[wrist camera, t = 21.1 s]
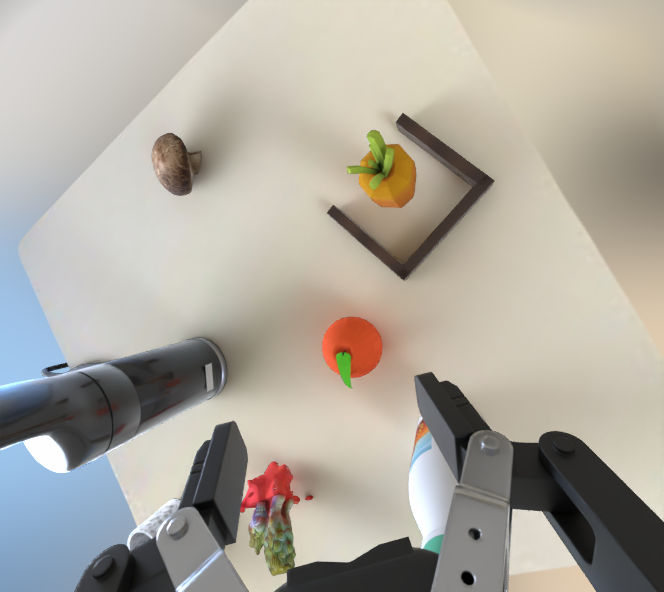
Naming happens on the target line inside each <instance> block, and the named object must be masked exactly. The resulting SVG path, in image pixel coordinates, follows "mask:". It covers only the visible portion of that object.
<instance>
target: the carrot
mask: <svg viewBox="0 0 664 592" xmlns="http://www.w3.org/2000/svg"><path fill="white" fill-rule="evenodd" d="M367 138H368V140H369V142H370V145H369V147H370V150H371V151H370V152H369V153H368V154H367V155H366V156H365V157H364V158H363V159H362V160H361V164H360V166H348V167H347V171H348V173H350V174H357V173H360V175H359V185H360V186H361V187H362V188H363V190H364V191H365V192H366V193H367V194H368V195H369V197H370V198H371V199H372V200H373V201H374V202H375V203H377V204H378V205H380V206H381V207H394V208H402V207H403V206H404V205H405V204H406V203H408V202H409V201H410V200H411V199H412V198H413V196H414V191H415V182H416V168H415V163H414V161H413V160H412V159H411V157H410V156H409V155H408V154H407V153H406V152H405V151H404V150H403V148H402V147H401V146H400V145H399V144H391V145H386V144H385V142H384V140H383V138H382V136H381V134H380V132H378V131H376V130H372V131H370V132H369V133H368V135H367Z"/></svg>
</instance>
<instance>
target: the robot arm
mask: <svg viewBox="0 0 664 592" xmlns="http://www.w3.org/2000/svg"><path fill="white" fill-rule="evenodd" d="M66 367H69V366H68V364H67V363H63V364H58V365H54V366H50V367H47V368H45V369H43V370H42V371H41V374H42V375H43V376H45V377H47V378H40V379H33V380H27V381H22V382H17V383H12V384H8V385H4V386H0V450H1V449H3V448H6V447H9V446H12V445H14V444H17V443H21V442H24V443H25V444H26V446H27V448H28V449H29V451H30V452H31V454H32V455H33V456H34V457H35V458H36V459H37V461H39V462H40V463H41V464H43V465H44V466H45V467H47V468H48V469H50V470H52V471H56V472H70V471H73V470H76V469H79V468H81V467H83V466H85V465H87V464H89V463H90V462H92V461H94V460H96V459H98V458H99V457H102V456H103V455H105V454H107V453H109V452H111V451H113V450H115V449H116V448H118V447H120V446H122V445H124V444H126V443H127V442H129V441H131V440H133V439H135V438H137V437H138V436H140V435H142V434H144V433H146V432H148V431H150V430H151V429H153V428H155V427H157V426H159V425H161V424H163V423H164V422H166V421H168V420H170V419H172V418H174V417H176V416H177V415H179V414H181V413H183V412H185V411H187V410H189V409H190V408H192V407H194V406H196V405H198V404H200V403H202V402H203V401H205V400H208V399H210V398H212V397H214V396H216V395H217V394H219V393H220V392H221V390H222V389H223V387H224V385H225V383H226V379H227V366H226V362H225V359H224V356H223V354H222V352H221V351H220V349H219V348H218V347H217V346H216V345H215V344H214V343H213V342H211V341H210V340H208V339H205V338H192V339H188V340H186V341H184V342H180V343H176V344H172V345H169V346H165V347H161V348H157V349H154V350H150V351H146V352H143V353H139V354H135V355H131V356H128V357H124V358H120V359H117V360H113V361H109V362H105V363H90V364H84V365H80V366H77V367H75V368H74V369H72V370H70V371H68V372H66V373H52V372H50V371H54V370H57V369H62V368H66ZM415 387H416V394H417V402H418V407H419V410H420V413H421V416H422V418H423V420H424V422H425V423H426V425H427V427H428V429H429V431H430V433H431V434H432V436H433V438H434V440H435V442H436V444H437V446H438V447H439V449H440V451H441V453H442V455H443V457H444V458H445V460H446V462H447V464H448V466H449V468H450V469H451V471H452V473H453V475H454V477H455V479H456V480H457V482H458V484H459V486H458V485H456V487H455V489H454V493H453V497H452V501H451V506H450V510H449V514H448V519H447V523H446V528H445V532H444V536H443V541H442V545H441V549H440V554H438V553H436V552H433V551H430V550H427V549H422V548H414V547H412V546H411V543H410V540H409V537H406V538H402V539H398V540H395V541H391V542H387V543H383V544H380V545H378V546H376V547H374V548H373V549H371V550H370V551H368V552H366V553H365V554H363V555H361V556H360V557H358V558H357V559H355V560H353V561H351V562H347V563H345V562H314V563H310V564H306V565H303V566H299V567H295V568H291V569H288V570H287V582H286V583H285V584H283V585H282V586H281V587H279V588H278V589H277V590H276V591H275V592H508V581H509V579H508V578H509V558H510V543H511V528H512V513H513V509H521V510H533V511H542V512H543V513H544V515H545V516H546V518H547V519H548V521H549V522H550V524H551V525H552V527H553V528H554V530H555V531H556V533H557V534H558V536H559V537H560V539H561V540H562V541H563V543H564V544H565V546H566V547H567V549H568V550H569V552H570V553H571V555H572V556H573V558H574V559H575V561H576V562H577V564H578V565H579V567H580V568H581V570H582V571H583V572H584V573H585V575H586V577H587V578H588V580H589V581H590V583H591V584H592V585H593V587H594V589H595V590H596V592H664V522H663V521H662V520H661V519H660V518H659V517H658V516H657V515H656V514H655V513H654V512H653V511H652V510H651V509H650V508H649V507H648V506H647V505H646V504H645V503H644V502H643V501H642V500H641V499H640V498H639V497H638V496H637V495H636V494H635V493H634V492H633V491H632V490H631V489H630V488H629V487H628V486H627V485H626V484H625V483H624V482H623V481H622V480H621V479H620V478H619V477H618V476H617V475H616V474H615V473H614V472H613V471H612V470H611V469H610V468H609V467H608V466H607V465H606V464H605V463H604V462H603V461H602V460H601V459H600V458H599V457H598V456H597V455H596V454H595V453H594V452H593V451H592V450H591V449H590V448H589V447H588V446H587V445H586V444H585V443H584V442H583V441H581V440H580V439H579V438H577V437H575V436H573V435H571V434H568V433H565V432H559V431H551V432H547V433H545V434H543V435H542V436H541V437H540V439H539V443H519V442H512V441H509V440H508V439H507V438H506V437H505V436H504V435H502V434H500V433H498V432H495V431H492V430H491V429H490V427H489V426H488V425H487V424H486V422H485V421H484V420H483V419H482V417H481V416H480V415H479V413H478V412H477V411H476V410H475V408H474V407H473V406H472V405H471V404H470V402H469V401H468V400H467V398H466V397H464V394H463V393H462V392H461V391H460V389H459V388H458V387H457V386H455V385H454V384H452V383H450V382H449V381H443V382H439V381H438V380H437V378H436V377H435V375H434V374H433V373H432V372H428V373H425V374H421V375H417V376H415ZM247 462H248V455H247V449H246V446H245V444H244V441H243V439H242V436H241V434H240V431H239V429H238V427H237V424H236V422H235V421H232V422H228V423H224V424H220V425H216V427H215V429H214V432H213V435H212V439H211V440H207V441H205V442H204V443H203V445H202V446H201V447H200V449H199V450H198V451H197V453H196V456H195V459H194V462H193V466H192V468H191V471H190V475H189V477H188V480H187V483H186V486H185V489H184V492H183V495H182V498H181V501H180V504H179V507H178V510H177V511H176V512H175V513H173V514H172V515H171V516H169V517H168V518H167V519H166V521H165V522H164V523H163V524H162V526H161V527H160V529H159V531H158V534H157V536H155V537H154V538H152V539H151V540H149V541H147V542H145V543H144V544H142V545H140V546H138V547H136V548H135V549H133V550H131V551H130V550H129V548H128V547H127V546H126V545H124V544H118V545H114V546H111V547H109V548H107V549H106V550H104V551H103V552H102V553H100V554H99V555H98V556H97V557H96V558H95V559H94V560H93V561H92V562H91V563H90V564H89V565H88V567H87V568H86V569H85V571H84V573H83V574H82V576H81V579H80V581H79V583H78V585H77V587H76V589H75V591H74V592H249V591H248V589H247V588H246V586H245V584H244V583H243V581H242V580H241V578H240V576H239V575H238V573H237V572H236V570H235V568H234V567H233V565H232V564H231V562H230V560H229V559H228V557H227V556H226V554H225V552H224V548H225V545H229V544H232V543H236V536H237V530H238V523H239V516H240V509H241V503H242V496H243V489H244V483H245V476H246V469H247Z"/></svg>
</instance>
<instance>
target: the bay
mask: <svg viewBox="0 0 664 592" xmlns="http://www.w3.org/2000/svg"><path fill="white" fill-rule="evenodd" d="M396 125H397V128H398V130H399V131H400V132H401V133H403V134H404V135H405V136H407V137H408V138H409V139H411V140H412V141H413V142H415V143H416V144H417V145H419V146H420V147H421V148H423V149H424V150H425V151H427V152H428V153H429V154H431V155H432V156H433V157H434V158H436V159H437V160H438V161H440V162H441V163H442V164H444V165H445V166H446V167H448V168H449V169H450V170H452V171H453V172H454V173H456V174H457V175H458V176H460V177H461V178H462V179H464V180H465V181H466V182H468V183H469V184H470V185H472V186H473V188H472V189H471V190H470V191H469V192H468V193H467V195H466V196H465V197H464V198H463V199H462V200H461V201H460V202H459V204H458V205H457V206H456V207H455V208H454V209H453V210H452V211H451V213H450V214H449V215H448V216H447V217H446V218H445V219H444V220H443V221H442V223H441V224H440V225H439V226H438V227H437V228H436V229H435V230H434V232H433V233H432V234H431V235H430V236H429V237H428V238H427V239H426V241H425V242H424V243H423V244H422V245H421V246H420V247H419V248H418V250H417V251H416V252H415V253H414V254H413V255H412V256H411V257H410V259H409V260H408V261H407V262H406V263H405V264H402V263H401V262H400V261H399V260H398V259H397V258H396V257H394V256H393V255H392V254H391V253H390V252H389V251H387V250H386V249H385V248H384V247H383V246H382V245H380V244H379V243H378V242H377V241H376V240H375V239H374V238H372V237H371V236H370V235H369V234H368V233H367V232H365V231H364V230H363V229H362V228H361V227H360V226H358V225H357V224H356V223H355V222H354V221H353V220H352V219H350V218H349V217H348V216H347V215H346V214H345V213H343V212H342V211H341V210H340V209H339V208H337V207H336V206H334V205H333V206H332V207H331V208H330V210H329V211H328V212H327V214H328V215H330V216H331V217H332V218H333V219H334V220H335V221H336V222H338V223H339V224H340V225H341V226H342V227H343V228H344V229H346V230H347V231H348V232H349V233H350V234H351V235H352V236H354V237H355V238H356V239H357V240H358V241H359V242H360V243H362V244H363V245H364V246H365V247H366V248H367V249H368V250H369V251H371V252H372V253H373V254H374V255H375V256H376V257H377V258H379V259H380V260H381V261H382V262H383V263H384V264H385V265H387V266H388V267H389V268H390V269H391V270H392V271H393V272H395V273H396V274H397V275H398V276H399V277H400V278H401V279H403V280H407V279H408V277H409V276H410V275H411V274H412V273H413V272H414V271H415V270H416V269H417V268H418V266H419V265H420V264H421V263H422V262H423V261H424V260H425V259H426V258H427V257H428V255H429V254H430V253H431V252H432V251H433V250H434V249H435V248H436V247H437V246H438V244H439V243H440V242H441V241H442V240H443V239H444V238H445V237H446V236H447V235H448V233H449V232H450V231H451V230H452V229H453V228H454V227H455V226H456V225H457V224H458V222H459V221H460V220H461V219H462V218H463V217H464V216H465V215H466V214H467V213H468V211H469V210H470V209H471V208H472V207H473V206H474V205H475V204H476V203H477V202H478V200H479V199H480V198H481V197H482V196H483V195H484V194H485V193H486V192H487V191H488V190H489V188H490V187H491V186H492V185H493V183H494V180H493V179H492V178H490V177H489V176H488V175H486V174H485V173H484V172H482V171H481V170H480V169H478V168H477V167H475V166H474V165H473V164H471V163H470V162H469V161H467V160H466V159H465V158H463V157H462V156H461V155H459V154H458V153H457V152H455V151H454V150H452V149H451V148H450V147H448V146H447V145H446V144H444V143H443V142H442V141H440V140H439V139H438V138H436V137H435V136H434V135H432V134H431V133H429V132H428V131H427V130H425V129H424V128H423V127H421V126H420V125H419V124H417V123H416V122H415V121H413V120H412V119H410V118H409V117H408V116H406V115H405V114H404V113H402V115H401V116H400V117H399V119H398V120H397V121H396Z"/></svg>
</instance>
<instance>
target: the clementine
mask: <svg viewBox="0 0 664 592" xmlns="http://www.w3.org/2000/svg"><path fill="white" fill-rule="evenodd" d="M322 351H323V356H324V359H325V361H326V363H327V364H328V366H329V367H330V368H331V369H332V370H333V371H334V372H336V373H337V374H340V375H341V377H342V379H343V381H344V383H345V384H346V385H347V386H348V387H349V388H352V387H351V381H350V378H355V377H361V376H363V375H366V374H368V373H369V372H370V371H372V370H373V369H374V368H375V367H376V365H377V364H378V363H379V360H380V357H381V354H382V341H381V337H380V335H379V333H378V331H377V329H376V328H375V327H374V326H373V325H372V324H371V323H369V322H368V321H367V320H364V319H362V318H358V317H346V318H342V319H340V320H338V321H336V322H335V323H333V324H332V325H331V326H330V327H329V328H328V330H327V331H326V333H325V335H324V338H323V342H322Z"/></svg>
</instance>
